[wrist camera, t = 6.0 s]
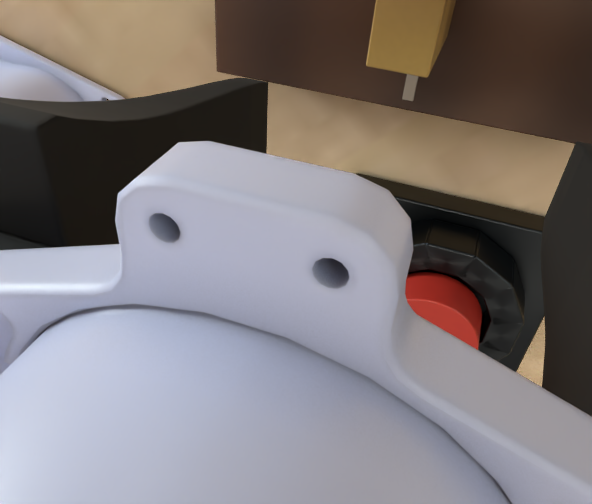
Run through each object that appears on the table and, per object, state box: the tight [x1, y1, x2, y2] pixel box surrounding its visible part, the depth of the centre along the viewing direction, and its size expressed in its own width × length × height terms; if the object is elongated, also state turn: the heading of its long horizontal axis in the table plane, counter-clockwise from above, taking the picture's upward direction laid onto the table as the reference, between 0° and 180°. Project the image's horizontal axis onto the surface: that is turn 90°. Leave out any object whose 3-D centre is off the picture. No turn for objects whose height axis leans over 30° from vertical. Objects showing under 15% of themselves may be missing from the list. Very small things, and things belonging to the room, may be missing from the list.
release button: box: [405, 272, 482, 350], centre depth 21 cm, size 4×4×2 cm
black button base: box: [356, 174, 545, 372], centre depth 23 cm, size 9×8×3 cm
